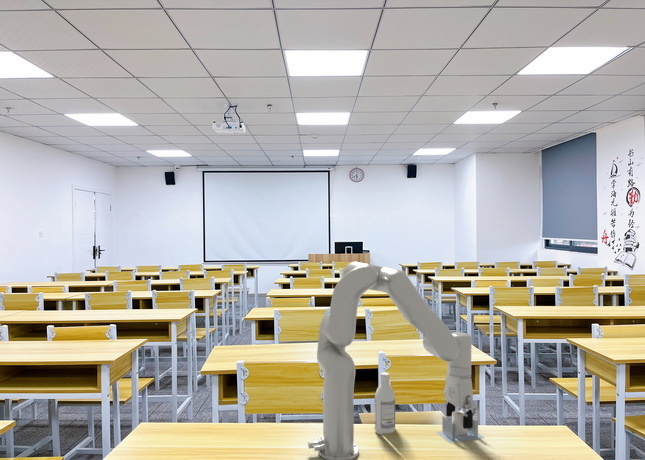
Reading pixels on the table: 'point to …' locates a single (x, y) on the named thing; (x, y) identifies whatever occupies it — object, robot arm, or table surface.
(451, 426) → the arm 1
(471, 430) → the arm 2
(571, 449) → the table surface
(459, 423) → the roll
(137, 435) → the table surface
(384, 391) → the bath foam
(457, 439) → the holder
